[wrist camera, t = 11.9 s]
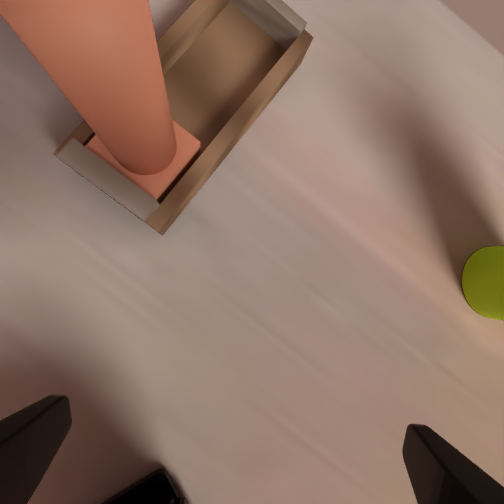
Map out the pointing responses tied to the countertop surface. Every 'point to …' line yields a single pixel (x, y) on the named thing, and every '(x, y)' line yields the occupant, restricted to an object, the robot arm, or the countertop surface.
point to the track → (206, 93)
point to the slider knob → (110, 82)
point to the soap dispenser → (485, 282)
